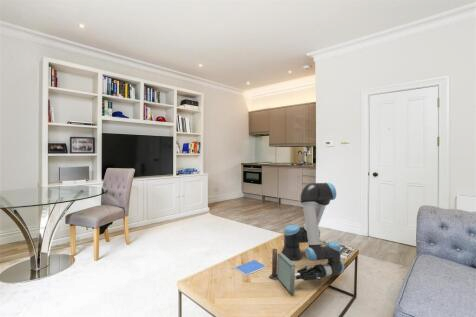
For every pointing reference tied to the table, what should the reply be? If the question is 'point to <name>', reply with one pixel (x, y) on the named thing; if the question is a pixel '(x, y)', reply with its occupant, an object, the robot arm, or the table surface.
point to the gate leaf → (286, 272)
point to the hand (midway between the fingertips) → (290, 277)
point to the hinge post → (274, 265)
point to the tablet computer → (250, 267)
